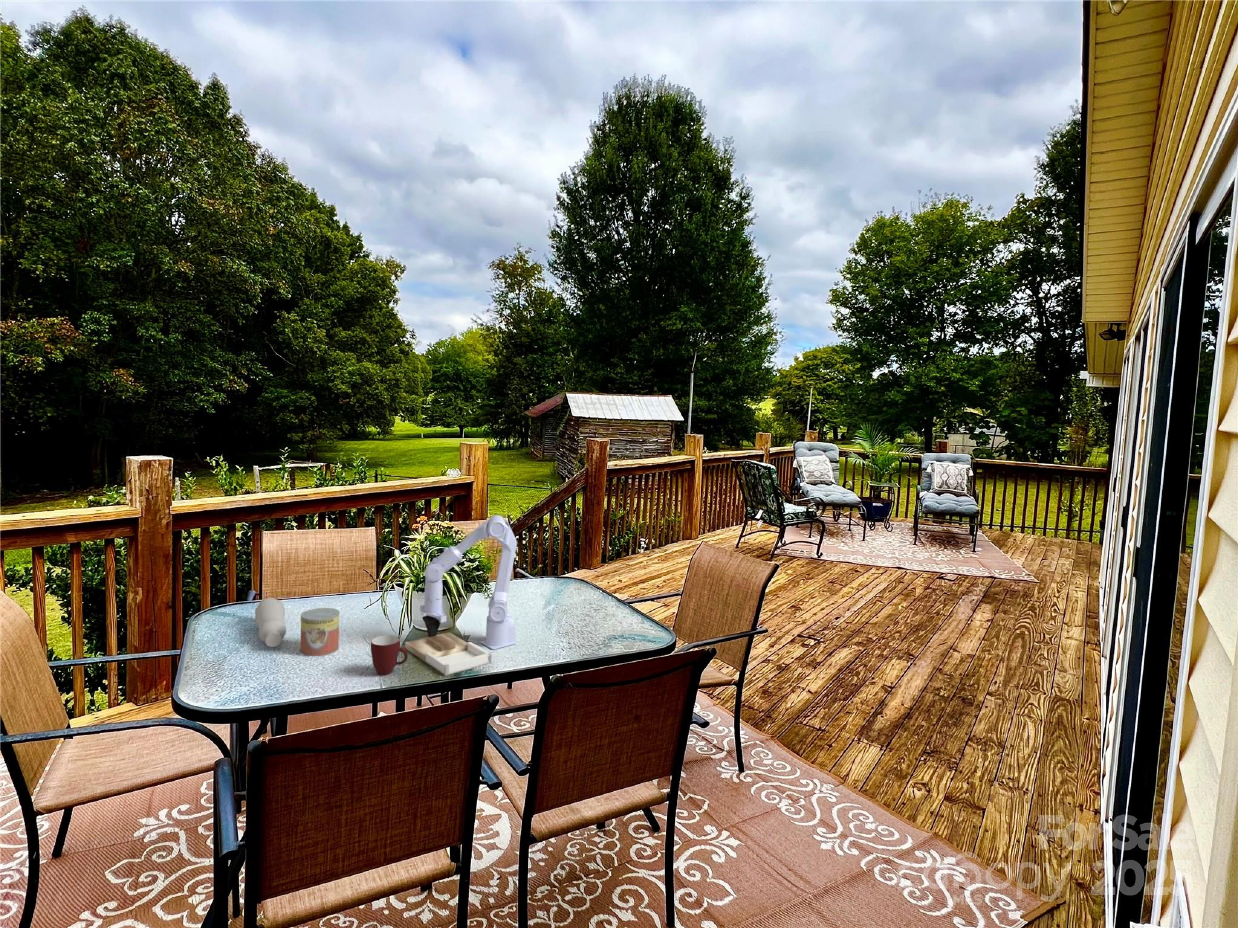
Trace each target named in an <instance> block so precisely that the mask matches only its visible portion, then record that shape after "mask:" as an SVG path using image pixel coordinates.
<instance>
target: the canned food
mask: <svg viewBox="0 0 1238 928" xmlns="http://www.w3.org/2000/svg"><path fill="white" fill-rule="evenodd" d="M339 631H340V610H339V609H335V608H332V607H330V608H329V607H319V608H313V609H308V610H305V611H304V612H302V613H301V614H300V649H299V651H300V652H301V653H302V654H303V656H305V655H306V656H305V657H310V656H318V657H324V656H330V655H332V654H334V653H336V652H338V651H339V648H340V646H339V644H340V643H339V642H340V641H339V639H340V636H339V635H340V632H339ZM300 652H299V653H300ZM301 653H300V654H301ZM331 653H332V654H331ZM302 654H301V655H302Z"/></svg>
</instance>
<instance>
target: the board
mask: <svg viewBox="0 0 1238 928" xmlns="http://www.w3.org/2000/svg"><path fill="white" fill-rule="evenodd" d="M437 635H442V636H443V637H445V638H447V639H448V640H450V641H452V642H453V643H455V648H454V649H450V650H446V651H442V652H441V651H439V650H438V649H436V648H435V647H433V646H432V645H430V644H428V643H427V642H426V638H428V636H427V637H422V638H418V639H413V640H410V641H406V642H404V643H405V644H404V649H405V650H406V651H409V652H410V653H411V654H413V655H415V656H416V657H417V658H418V659H420V660H421V661H423V662H425V663H426V653H428V652H430V653H431V654H433V655H435V656H436V657H438V658H439V657H443V656H447V655H451V654H455V653H458V652H462V651H466V650H467V643H468V642H466V641H465V640H463V639H461V638H460V637H458V636H456V635H455V634H453V633H451V632H450V631H448V632H444V633H441V634H437ZM437 635H436V636H437Z"/></svg>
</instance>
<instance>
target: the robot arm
mask: <svg viewBox="0 0 1238 928" xmlns="http://www.w3.org/2000/svg"><path fill="white" fill-rule="evenodd" d="M490 537H491V538H493V539H494V540H496V541H497V542H498V543H499V544H500V545H501V546H502V548H501V552H500V559H499V563H498V567H497V568H498V569H497V574H496V580H495V586H494V590H493V593H492V596H491V598H490V599H489V601H488V605H487V607H488V616H486V628H485V629H486V630H485V631H486V632H485V640H482V641H481V640H480V644H482V645H484V646H486V647H487V648H489V649H491V650H498V649H502V648H505V647H509V646H513V645H516V644H517V642H516V623H515V620H514V618H513V616H510V615H508V612H509V611H508V608H507V606H508V603H507V602H508V593H509V587H510V583H511V578H512V571H513V566H514V561H515V558H516V557H515V556H516V550H517V546H518V544H517V543H518V541H517V538H516V537H515V534H514V532H513V530H512V527H511V526H510V523H509V522H508V521H507V520H506V519H505V517H504V516H502V515H499V514H495V515H492V516H491V517H489V519H488V520H485V521H484V522H482V523H480V524H479V525H477V527H476V528H475V529H474V530H473V531H472V532H471V533H469V534H468V535H467V536H466V537H465V538H464V539H462V540H461V542H460V543H458V544H457V545H455V546H452V545H450V546H448V547H445V548H444V549H443V552H442V553H440V555H439V556H437V557H433V558H432V561H430V562H428V563H427V565H426V567H425V570H424V576H425V579H424V580H425V581H424V582H425V584H424V602H423V604H420V607H419V611H420V614H421V616H422V620H423V622H424V624H425V627H426V632H427V637H432V636H436V635H438V631H439V629H440V626H441V624H442V623H446V622H447V615H446V614H445V612H444V610H443V587H444V585H443V576H444V573H447V572H448V571H450V569H452V568H453V567H454V566H455V565H457V564H458V563H459V562H460V561H461V560H462V559H463V554H464V553H465V552H467V551H468V550H469V549H470V548H471V547H473V546H474V545H475V544H477V543H478V542H479V541H480V540H487V539H490Z"/></svg>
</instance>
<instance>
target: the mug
mask: <svg viewBox="0 0 1238 928" xmlns="http://www.w3.org/2000/svg"><path fill="white" fill-rule="evenodd" d="M400 641H401V640H400V638H399V637H398V636H395V635H389V634H388V635H380V636H376V637H373V638H372V639H371V640H370V654H371V659H372V665H373V668H374V669H375V672H376V673H377V674H378V675H380V676H387V675H390V674H391V673H393V671H394V669H395V667H396V666H401V665H403V664H404V663H406V662H407V660H408V657H409V654H408V652H407V651H408V650H407V649H406V648H403V647H400V646H401V645H400ZM400 653H402V654H403V656H404V657H403V660H401V661H398V657H399V654H400Z"/></svg>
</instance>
